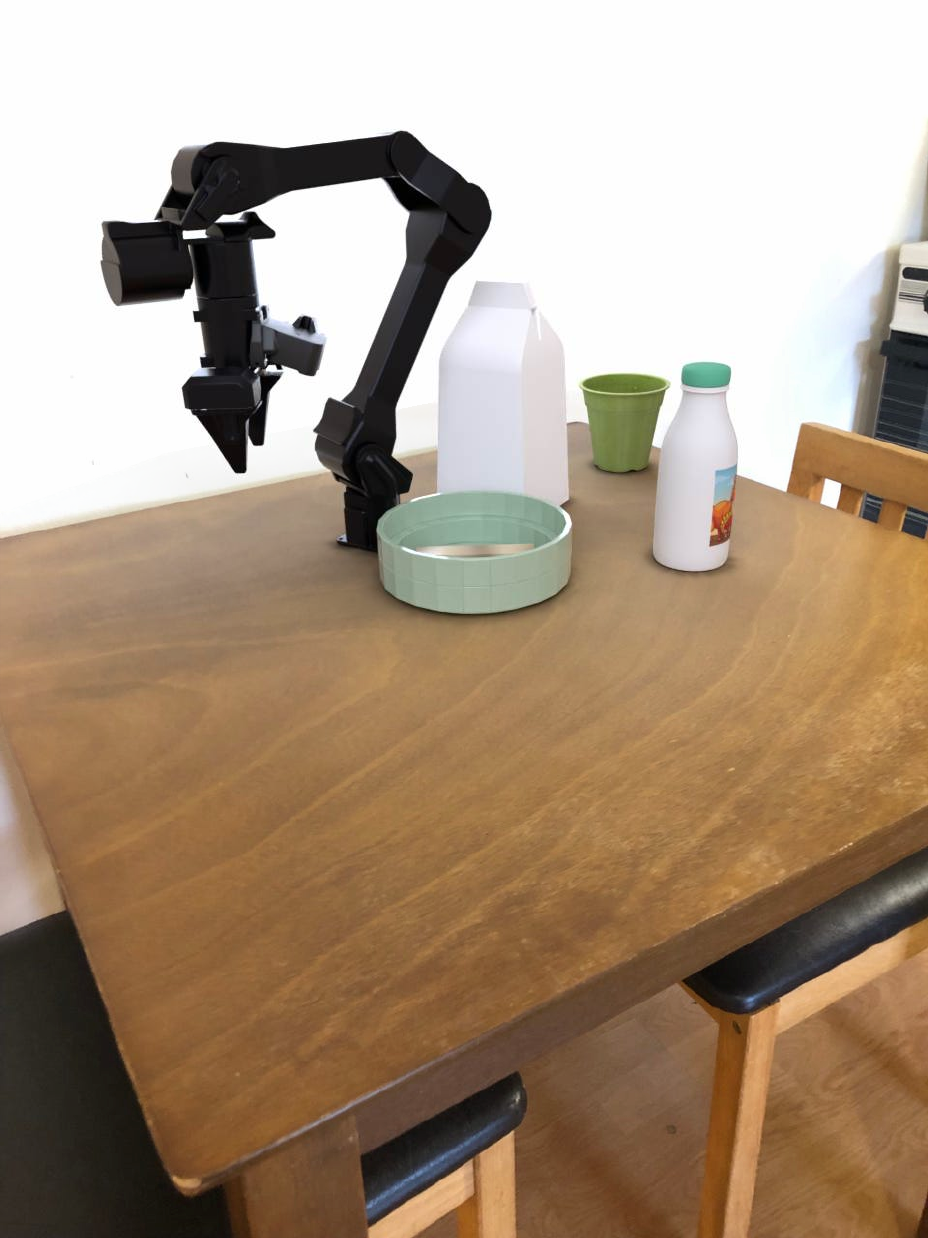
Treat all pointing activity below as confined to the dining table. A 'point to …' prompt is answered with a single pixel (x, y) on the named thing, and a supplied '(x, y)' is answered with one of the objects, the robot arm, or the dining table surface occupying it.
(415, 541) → the bowl
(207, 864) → the dining table surface
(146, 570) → the dining table surface
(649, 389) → the plant pot
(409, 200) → the robot arm
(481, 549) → the stick
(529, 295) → the milk
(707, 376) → the milk bottle
